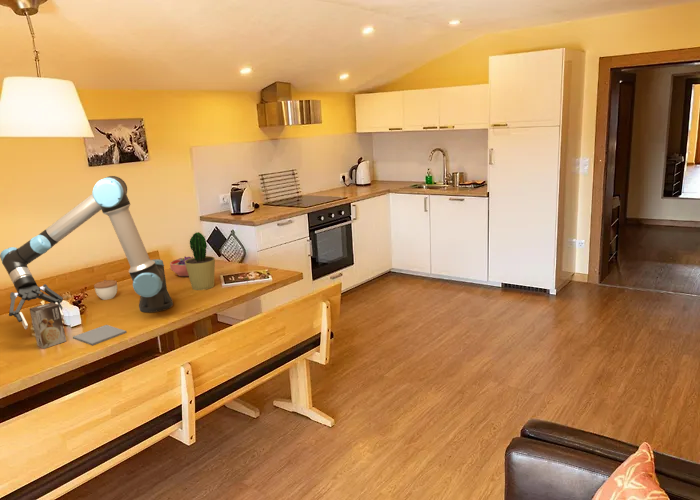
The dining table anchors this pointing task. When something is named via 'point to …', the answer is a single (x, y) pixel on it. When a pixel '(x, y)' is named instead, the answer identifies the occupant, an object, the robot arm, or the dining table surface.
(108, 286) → the lidded jar
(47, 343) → the coffee box
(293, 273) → the dining table surface
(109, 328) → the mat
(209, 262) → the potted cactus
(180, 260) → the cell model
